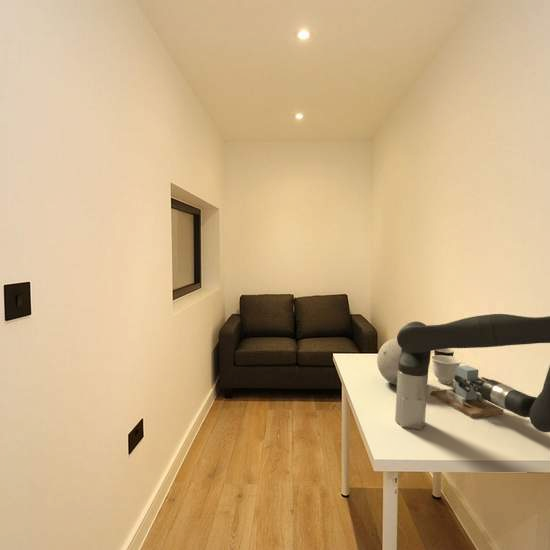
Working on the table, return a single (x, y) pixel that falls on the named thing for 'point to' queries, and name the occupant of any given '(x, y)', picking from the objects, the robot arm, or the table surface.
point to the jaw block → (468, 374)
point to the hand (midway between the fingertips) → (461, 377)
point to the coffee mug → (444, 352)
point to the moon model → (389, 360)
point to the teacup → (445, 368)
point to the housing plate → (467, 403)
